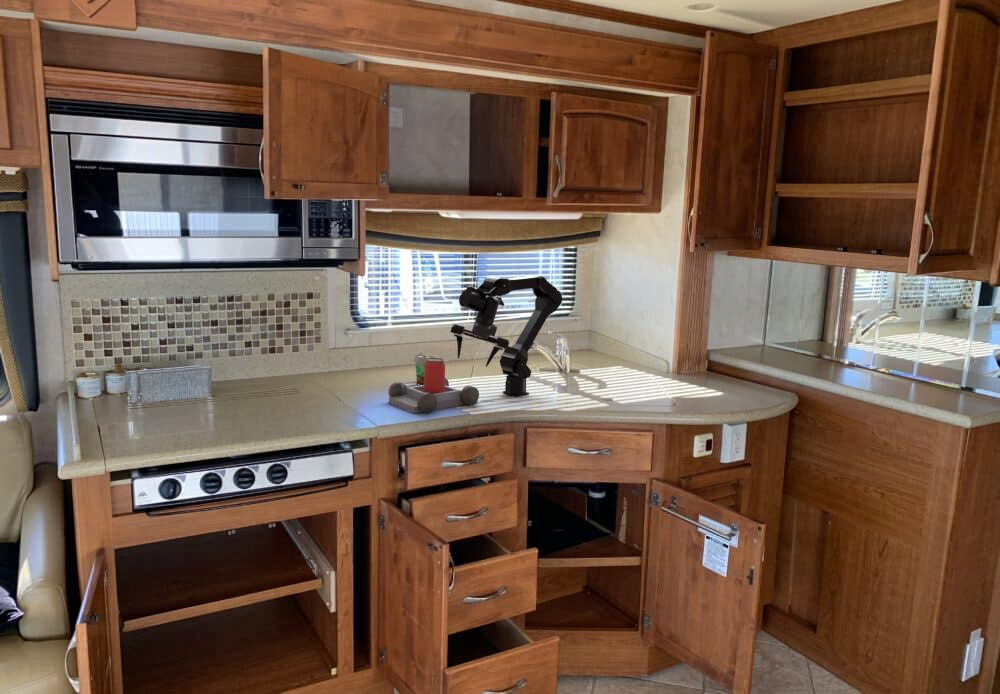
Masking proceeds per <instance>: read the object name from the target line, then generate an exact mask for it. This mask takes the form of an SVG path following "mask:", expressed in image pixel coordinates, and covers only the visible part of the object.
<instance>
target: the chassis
mask: <svg viewBox="0 0 1000 694" xmlns="http://www.w3.org/2000/svg"><path fill="white" fill-rule="evenodd" d="M387 393H388V404H389V403H390V404H389V405H391V404H392V406H394V405H395V407H397V406H398V407H397V408H399V407H400V409H402V408H403V409H402V410H404V409H406V410H405V411H407V410H409V411H411V412H410V413H412V412H413V413H412V414H414V413H415V414H418V413H417V412H420V413H425V414H430V413H429V412H431V413H433V412H434V411H436V410H435V409H437V410H442V408H443V409H448V407H449V408H453V407H454V408H455V407H459V405H460V406H465V404H466V406H471V405H472V406H474V405H475V404H477V403H478V401H479V398H480V391H479V390H478V388H477V387H475V386H473V385H465V386H464V387H463V388H462V389H457V388H456V387H455V388H454V387H451V386H450V385H449V380H448V378H447V377H445V392H442V393H436V394H432V393H429V392H424V385H422V386H421V385H417V386H410V387H408V386H407V384H406V383H403V382H400V381H395V382H393V383H392V384H390V386H389V388H388V392H387ZM472 406H471V407H472ZM409 411H408V412H409Z"/></svg>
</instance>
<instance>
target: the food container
mask: <svg viewBox="0 0 1000 694" xmlns="http://www.w3.org/2000/svg"><path fill="white" fill-rule="evenodd" d="M427 358H434V357H433V356H428V355H424V354H423V352H417V353H415V354H414V356H413V362H414V363H415V375H416V376H415V378H416V384H417V385H418V384H419V385H418V386H421V385H424V365H425V362H426V359H427Z"/></svg>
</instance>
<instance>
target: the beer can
mask: <svg viewBox="0 0 1000 694" xmlns="http://www.w3.org/2000/svg"><path fill="white" fill-rule="evenodd" d="M445 378H446V364H445V361H444V358H442V357H433V358H427V359H426V362H425V365H424V392H429V393H432V394H436V393H442V392H445Z"/></svg>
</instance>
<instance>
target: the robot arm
mask: <svg viewBox="0 0 1000 694" xmlns="http://www.w3.org/2000/svg"><path fill="white" fill-rule="evenodd" d="M529 289H532V293H533V295H534V296H535V297H536V298H535V300H534V311H533V312H532V314H531V316H530V317H529V319H528V321H527V322H526V324H525V326H524V328H523V329H522V331H521V333H520V334H519V337H518V339H517V340H516V342H515V344H513V345H511V346H510V340H509V339H508V338H503V337H499V336H498V337H496V333H497V330H498V325H495V324H494V323H495V319H496V316H497V315H496V314H497V312H498V309H499V306H502V307H504V306H505V302H504V300H503V299H502V297H503V296H505V295H508V294H510V293H511V292H513V291H514V292H515V291H520V290H521V291H522V290H529ZM458 303H459V305H460V307H462V308H464V309H468V310H471V311H473V312H475V313H476V312H477V313H476V316H475V321H474V323H473V327H472V330H468V329H465V326H464V325H463V326H462V325H459V324H456V323H453V324H452V325H451V328H450V333H451V334H453V337H455V338H456V343H457V359H458V360H459V358H460V356H461V351H462V345H463V336H467V337H471V338H474V339H478V340H481V341H484V342H487V343H491V344H494V346H493V347H492V350H491V352H490V354H489V356H488V359H487V361H486V364H485V367H486V368H487V367H488V366H489V364H490V363H491V361H492V359H494V356H495V355H496V354H497V353H498V352H499V351H503V352H502V353H501V354H500V359H499V363H500V364H499V365H500V368H501V370H502V374H503V375H506V376H505V377H506V379H505V383H504V384H505V385H504V387H505V388H504V390H503V391H502V393H503V394H505V395H509V396H512V397H520V396H525V395H530V392H528V391H527V379H528V378H530V377H531V375H532V370H531V368H529V366H528V365H527V363H528V361H529V350H530V348H531V346H532V345H533V343H534V341H535V339H536V338H537V336H538V334H539V333H540V331H541V329H542V327H543V326H544V324H545V322H546V321H547V318H548V317H549V316H550V315H552V314H553V313H555V312H556V311H557V310H558V309H559V307H560V306H561V305H562V303H563V295H562V292H561V291H560V290H558V289H557V288H556V287H555V286H554V285H553V284H551V282H550V281H548V280H547V278H545V276H542V275H537V274H533V275H528V276H519V277H510V278H504V277H497V276H487V277H485V279H484V280H483V282H481V284H479V286H478V287H473V286H469V285H467V286H466V289H465V290H464V289H463V291H462V292H461V293H460V295H459V298H458Z"/></svg>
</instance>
